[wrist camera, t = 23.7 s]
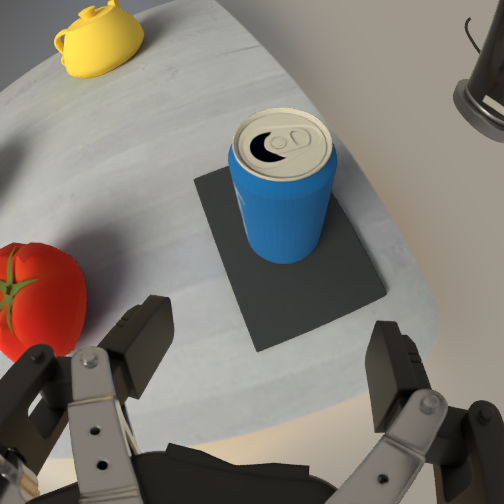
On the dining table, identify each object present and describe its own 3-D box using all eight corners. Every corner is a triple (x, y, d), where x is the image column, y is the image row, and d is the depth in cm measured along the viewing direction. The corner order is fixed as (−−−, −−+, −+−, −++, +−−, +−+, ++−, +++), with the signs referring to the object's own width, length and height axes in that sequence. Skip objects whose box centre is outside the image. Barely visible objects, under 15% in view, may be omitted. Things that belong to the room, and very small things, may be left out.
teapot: (131, 71, 42) (106, 12, 30) (51, 95, 44) (22, 50, 32) (161, 23, 49) (146, -23, 38) (89, 44, 51) (71, 4, 40)
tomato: (124, 335, 26) (68, 316, 18) (41, 387, 24) (-17, 381, 16) (83, 233, 30) (38, 194, 22) (14, 290, 28) (-35, 265, 21)
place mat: (194, 182, 31) (193, 179, 30) (300, 145, 32) (300, 141, 31) (257, 352, 24) (256, 351, 24) (385, 295, 25) (387, 294, 24)
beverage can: (237, 214, 28) (212, 120, 17) (302, 192, 29) (309, 94, 18) (261, 277, 26) (245, 203, 15) (331, 251, 26) (361, 166, 15)
